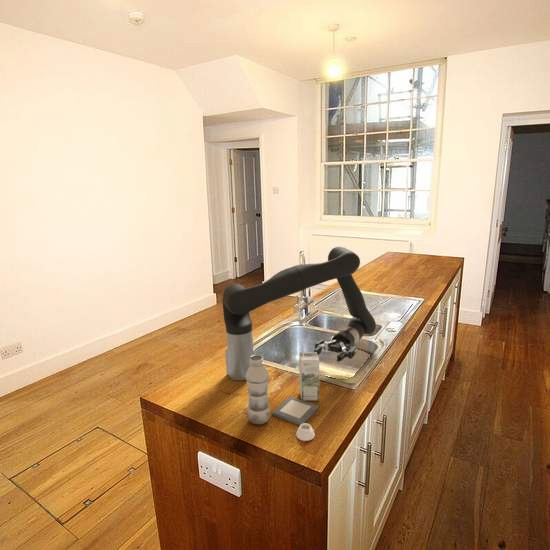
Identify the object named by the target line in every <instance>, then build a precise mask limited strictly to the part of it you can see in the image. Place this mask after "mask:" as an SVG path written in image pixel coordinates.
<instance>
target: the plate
mask: <svg viewBox="0 0 550 550" xmlns="http://www.w3.org/2000/svg"><path fill="white" fill-rule="evenodd" d="M318 409H319V405H318V404H315V403H311V402H309V401H302V400H301V399H299V398H296V397H293V396H289V397H288V398H287V399H285V400H284V401H283V402H282V403H281V404H280V405H279V406H277V408H275V409H274V410H273V411H272V416H273V417H277V418H279V419H281V420H285V421H287V422H289V423H291V424H295V425H297V426H300V425H301V424H303V423H306V422H307V421H308V420H309V419H310V418H311V417H312V416H313V415H314V414H315V413H316V412H317V410H318Z"/></svg>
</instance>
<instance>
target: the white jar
mask: <svg viewBox="0 0 550 550" xmlns="http://www.w3.org/2000/svg"><path fill="white" fill-rule="evenodd" d="M295 436H296V438H297V439H298V440H300V441H304V442H307V441H308V442H309V441H311V440H313V439H314V438H315V430H314V429H313V427H312V425H311V424H310V423H306V422H305V423H303V424H301V425H299V427H298V429H297V430H296V433H295Z"/></svg>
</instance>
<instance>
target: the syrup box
mask: <svg viewBox="0 0 550 550" xmlns="http://www.w3.org/2000/svg"><path fill="white" fill-rule="evenodd" d="M298 354H299V356H298V357H299V362H298V364H299V394H300V400H302V401H305V402H312V401H315V402H316V401H320V358H319V355H317V352H314V351H310V352H309V351H308V352H306V351H305V352H299V353H298Z"/></svg>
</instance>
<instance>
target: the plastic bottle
mask: <svg viewBox="0 0 550 550" xmlns="http://www.w3.org/2000/svg"><path fill="white" fill-rule="evenodd" d="M253 355H254V356H251V357H250V365H251V366H250V368H249V369H248V371H247V373H246V380H245V381H246V385H247V389H248V390H247V391H248V405H247V412H246V413H247V419H248V420H249V422H250V423H251V424H254V425H263V424H265V423H267V422H268V420H269V419H270V416H271V409H270V404H269V399H268V398H269V397H268V389H269V380H270V379H269V378H270V374H269V371H268V369H267V368H266V367H265V366H264V364H265V363H264V357H263V356H262V355H260V354H256V355H255V354H253Z"/></svg>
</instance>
